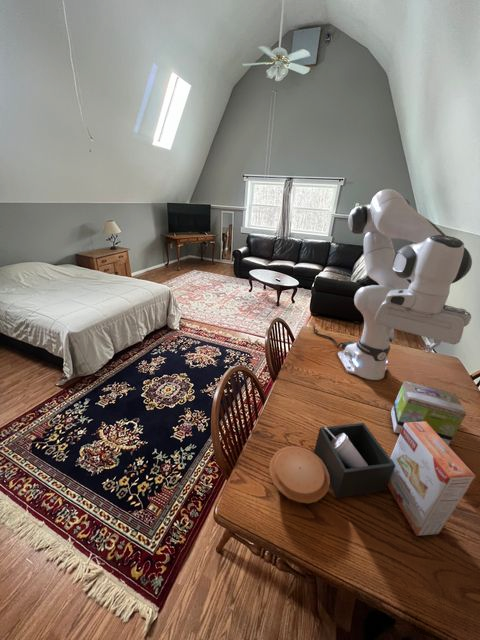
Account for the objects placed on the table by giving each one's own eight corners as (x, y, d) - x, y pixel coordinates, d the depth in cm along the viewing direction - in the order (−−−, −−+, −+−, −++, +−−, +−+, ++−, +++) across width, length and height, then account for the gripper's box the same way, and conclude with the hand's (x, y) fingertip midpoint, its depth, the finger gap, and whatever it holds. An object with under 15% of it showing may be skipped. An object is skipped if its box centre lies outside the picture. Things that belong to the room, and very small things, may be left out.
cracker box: (380, 477, 73) (403, 420, 64) (400, 476, 73) (426, 420, 64) (414, 537, 60) (449, 477, 51) (439, 535, 61) (478, 475, 52)
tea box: (393, 433, 87) (407, 398, 80) (390, 412, 95) (402, 379, 89) (448, 449, 82) (467, 413, 76) (439, 426, 90) (456, 391, 84)
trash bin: (314, 451, 79) (319, 427, 75) (355, 446, 82) (363, 422, 77) (336, 498, 67) (344, 472, 63) (384, 490, 70) (395, 465, 65)
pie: (325, 461, 76) (328, 449, 74) (329, 519, 63) (333, 506, 61) (271, 449, 79) (273, 437, 77) (264, 502, 66) (266, 489, 63)
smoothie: (372, 456, 73) (334, 417, 76) (373, 472, 67) (332, 429, 70) (353, 467, 76) (318, 428, 78) (353, 483, 70) (314, 441, 72)
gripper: (473, 307, 67) (452, 354, 73) (384, 289, 78) (372, 331, 83) (475, 315, 62) (452, 364, 68) (380, 295, 73) (368, 339, 79)
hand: (407, 346), depth 76 cm, fingers open, 8 cm apart
